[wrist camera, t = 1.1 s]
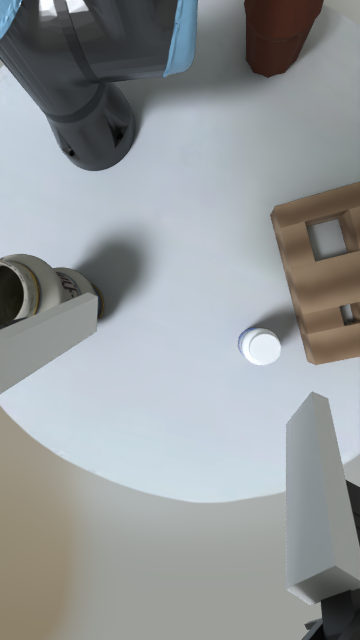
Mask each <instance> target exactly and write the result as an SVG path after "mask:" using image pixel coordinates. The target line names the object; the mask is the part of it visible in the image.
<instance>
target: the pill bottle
mask: <svg viewBox="0 0 360 640" xmlns="http://www.w3.org/2000/svg"><path fill="white" fill-rule="evenodd" d="M238 348H239V350H240V352H241V353H242V354H243V355H244V356H245V357H246V359H247V360H249V361H250V362H251V363H253V364H256V365H268V364H271V363H272V362H274V361H275V360H277V359H278V357H279V356H280V353H281V344H280V341H279V339H278V337H277V336H276V335H275V334H274V333H273V332H272V331H270V330H267V329H263V328H250V329H247V330H245V331H244V332H242V333H241V335H240V336H239V339H238Z"/></svg>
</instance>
